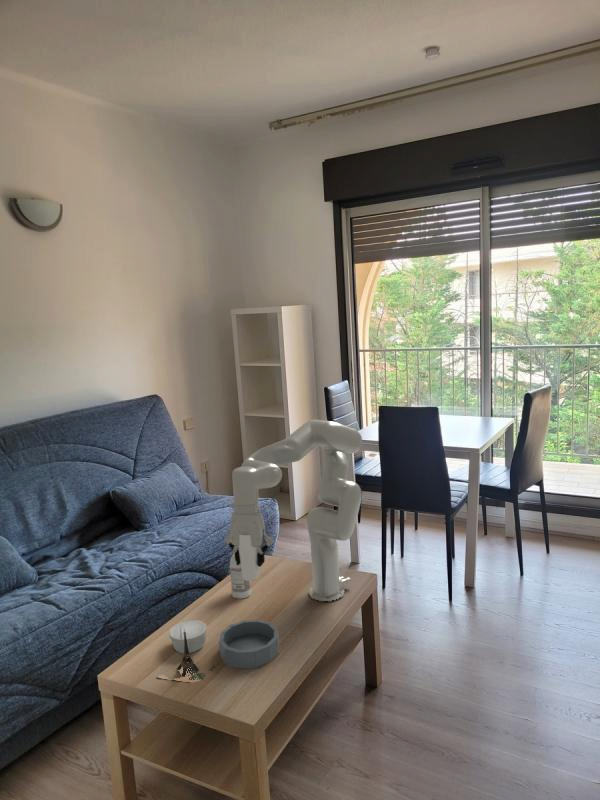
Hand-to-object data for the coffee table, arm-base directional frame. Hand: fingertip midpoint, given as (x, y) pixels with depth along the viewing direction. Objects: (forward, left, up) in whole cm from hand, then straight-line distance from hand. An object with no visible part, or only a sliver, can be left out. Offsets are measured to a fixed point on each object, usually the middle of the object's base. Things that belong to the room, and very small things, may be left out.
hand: (250, 563), depth 178 cm
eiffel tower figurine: (+24, +4, -25) cm, 35 cm away
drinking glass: (0, 0, -5) cm, 5 cm away
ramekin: (+19, -8, -24) cm, 32 cm away
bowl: (+5, +6, -24) cm, 25 cm away
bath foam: (-8, -28, -24) cm, 38 cm away
